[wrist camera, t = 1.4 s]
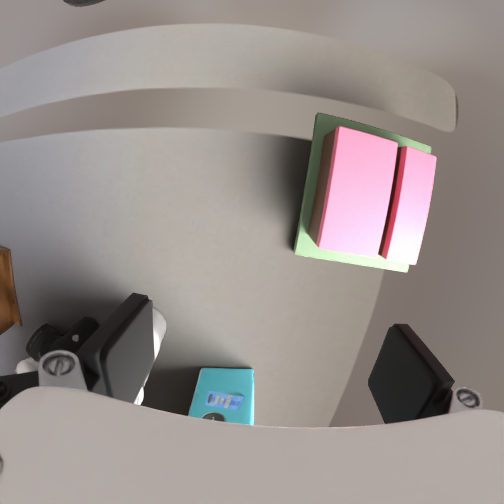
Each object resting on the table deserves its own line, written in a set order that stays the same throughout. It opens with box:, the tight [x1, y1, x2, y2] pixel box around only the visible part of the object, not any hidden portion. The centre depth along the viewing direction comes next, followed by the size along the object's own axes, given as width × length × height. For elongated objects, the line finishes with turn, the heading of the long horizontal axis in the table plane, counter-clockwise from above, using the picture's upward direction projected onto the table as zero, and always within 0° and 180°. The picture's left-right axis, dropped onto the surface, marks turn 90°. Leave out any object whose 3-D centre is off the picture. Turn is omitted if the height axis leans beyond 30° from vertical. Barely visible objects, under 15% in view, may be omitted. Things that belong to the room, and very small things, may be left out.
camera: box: [26, 317, 99, 363], centre depth 27 cm, size 14×7×8 cm, turn 139°
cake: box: [308, 126, 398, 258], centre depth 21 cm, size 9×5×5 cm, turn 171°
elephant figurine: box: [15, 357, 38, 374], centre depth 30 cm, size 7×8×6 cm
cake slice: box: [378, 146, 436, 265], centre depth 21 cm, size 9×3×5 cm, turn 172°
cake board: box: [293, 113, 431, 272], centre depth 24 cm, size 13×12×1 cm
